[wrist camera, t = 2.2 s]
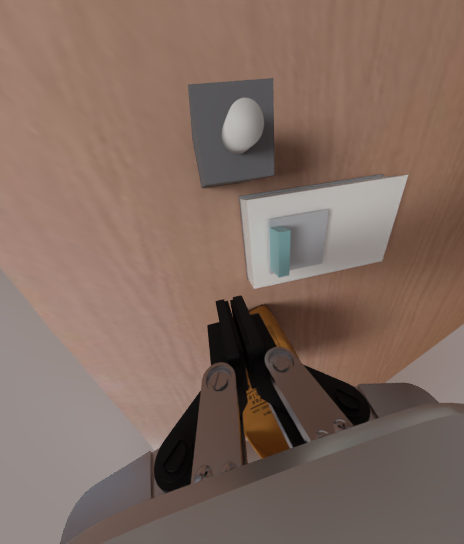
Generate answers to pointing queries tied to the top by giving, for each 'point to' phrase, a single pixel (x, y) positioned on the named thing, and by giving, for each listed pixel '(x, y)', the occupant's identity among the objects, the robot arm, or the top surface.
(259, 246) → the socket
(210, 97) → the plug
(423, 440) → the robot arm
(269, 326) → the coffee package
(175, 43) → the top surface
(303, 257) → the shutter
